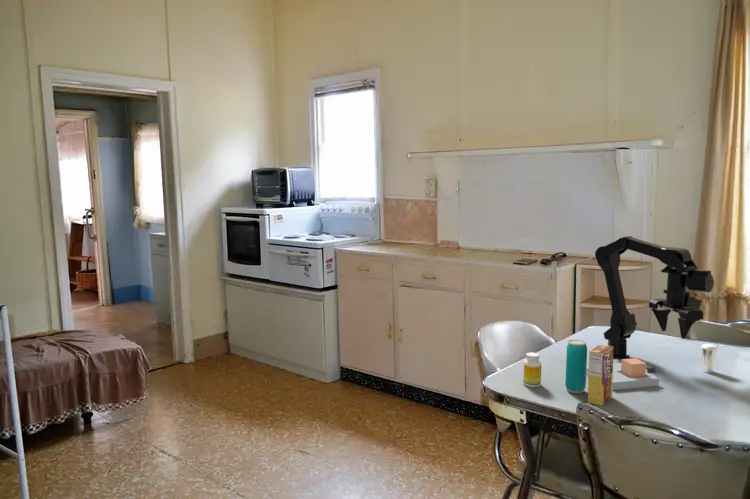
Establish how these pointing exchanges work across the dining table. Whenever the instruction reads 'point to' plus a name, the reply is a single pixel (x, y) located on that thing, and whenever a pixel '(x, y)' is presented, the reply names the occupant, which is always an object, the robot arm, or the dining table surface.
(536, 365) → the supplement bottle
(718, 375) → the dining table surface
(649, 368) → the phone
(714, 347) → the milkshake
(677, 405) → the dining table surface
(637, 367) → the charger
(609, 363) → the candy box
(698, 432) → the dining table surface
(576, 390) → the beverage can
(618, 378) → the outlet plate
